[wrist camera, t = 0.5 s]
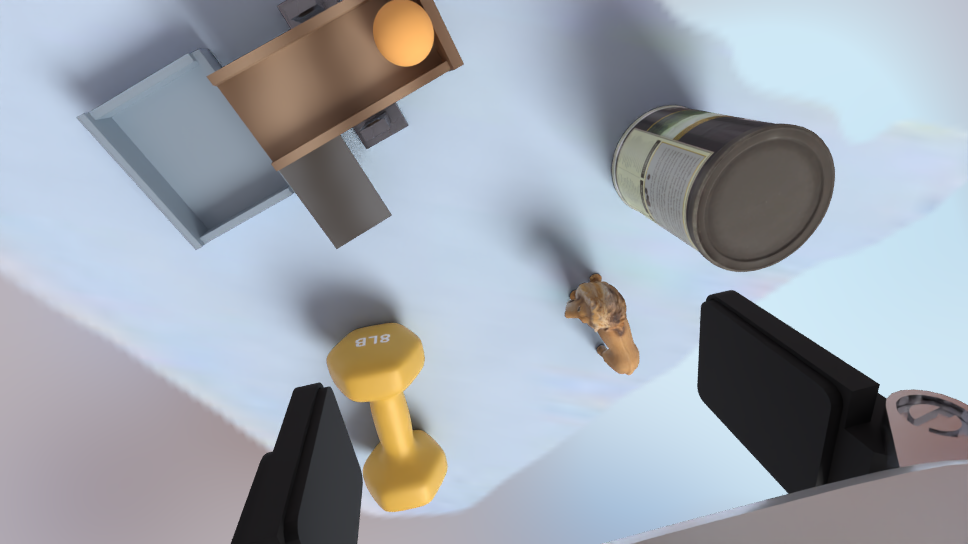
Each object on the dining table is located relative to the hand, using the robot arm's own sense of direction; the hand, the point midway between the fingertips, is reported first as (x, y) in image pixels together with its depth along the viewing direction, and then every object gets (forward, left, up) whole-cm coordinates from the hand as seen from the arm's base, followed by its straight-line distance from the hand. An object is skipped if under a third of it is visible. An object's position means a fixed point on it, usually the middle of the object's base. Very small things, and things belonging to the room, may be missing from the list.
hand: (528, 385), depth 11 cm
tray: (-9, -16, -32) cm, 37 cm away
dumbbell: (+20, -17, -33) cm, 42 cm away
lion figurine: (+22, +6, -33) cm, 40 cm away
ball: (-9, +2, -26) cm, 28 cm away
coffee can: (+11, +18, -33) cm, 39 cm away
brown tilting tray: (-5, -4, -30) cm, 31 cm away
